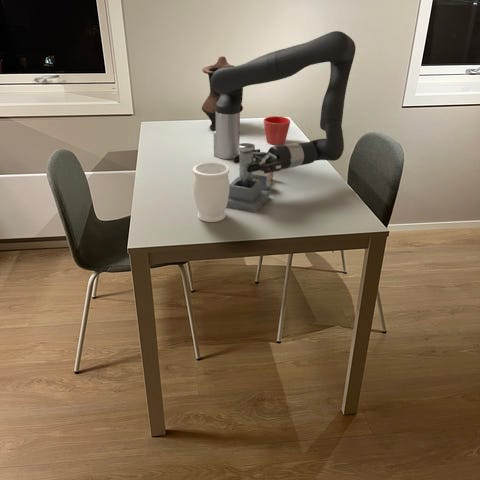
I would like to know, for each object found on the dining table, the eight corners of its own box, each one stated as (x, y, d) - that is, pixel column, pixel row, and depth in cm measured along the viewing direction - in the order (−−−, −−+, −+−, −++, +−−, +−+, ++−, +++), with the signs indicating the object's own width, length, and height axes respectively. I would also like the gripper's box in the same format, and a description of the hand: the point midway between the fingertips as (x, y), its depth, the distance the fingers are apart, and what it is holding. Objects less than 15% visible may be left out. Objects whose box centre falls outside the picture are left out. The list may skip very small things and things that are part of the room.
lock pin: (261, 176, 169) (261, 163, 167) (272, 178, 168) (273, 164, 165) (248, 189, 159) (248, 174, 157) (260, 191, 158) (261, 176, 155)
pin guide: (246, 187, 161) (246, 173, 158) (250, 183, 164) (250, 169, 161) (265, 191, 159) (266, 176, 156) (269, 187, 162) (270, 172, 159)
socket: (219, 205, 149) (219, 187, 146) (234, 191, 158) (234, 173, 155) (256, 212, 145) (256, 193, 142) (269, 197, 155) (270, 179, 152)
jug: (242, 135, 212) (243, 63, 197) (200, 134, 212) (198, 63, 197) (242, 122, 230) (244, 56, 216) (204, 121, 230) (203, 55, 216)
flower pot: (281, 148, 198) (283, 124, 193) (258, 143, 203) (259, 120, 198) (293, 141, 206) (294, 119, 201) (270, 137, 211) (271, 114, 206)
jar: (194, 208, 146) (192, 161, 139) (228, 208, 147) (228, 161, 140) (194, 224, 137) (192, 175, 129) (230, 224, 138) (230, 174, 130)
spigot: (234, 196, 149) (235, 147, 142) (240, 190, 153) (241, 142, 146) (249, 199, 148) (251, 149, 140) (255, 193, 152) (257, 144, 144)
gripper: (274, 138, 155) (229, 145, 148) (299, 151, 144) (252, 159, 137) (273, 160, 159) (229, 168, 152) (297, 175, 148) (251, 184, 141)
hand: (240, 164), depth 145 cm, fingers open, 8 cm apart
